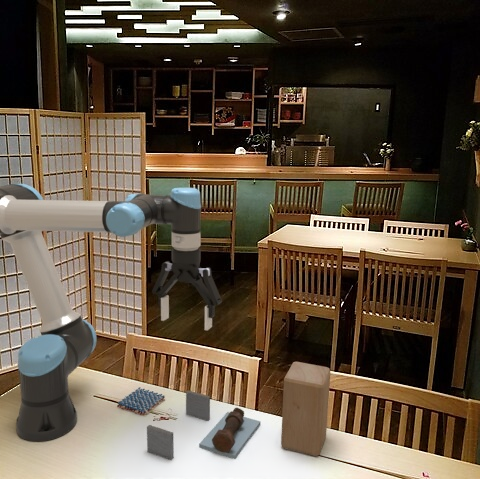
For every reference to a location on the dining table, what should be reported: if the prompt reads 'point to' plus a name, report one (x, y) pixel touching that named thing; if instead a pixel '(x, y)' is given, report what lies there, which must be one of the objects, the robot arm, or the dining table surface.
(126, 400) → the woven mat
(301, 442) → the wooden block
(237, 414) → the bolt
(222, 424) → the slate pad
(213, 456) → the dining table surface
